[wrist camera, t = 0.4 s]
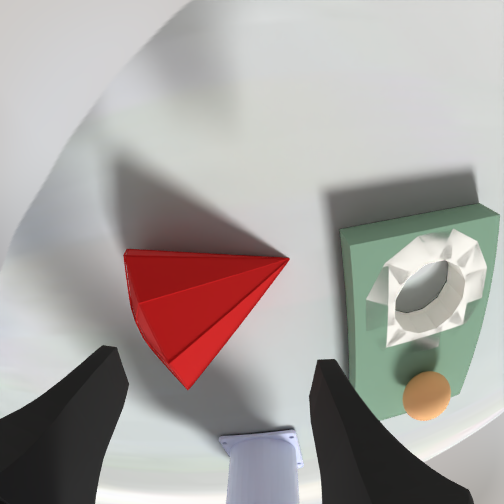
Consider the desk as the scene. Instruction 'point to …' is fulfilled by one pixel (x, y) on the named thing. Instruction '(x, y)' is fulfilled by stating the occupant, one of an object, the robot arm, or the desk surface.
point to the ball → (426, 395)
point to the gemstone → (194, 302)
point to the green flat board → (421, 321)
